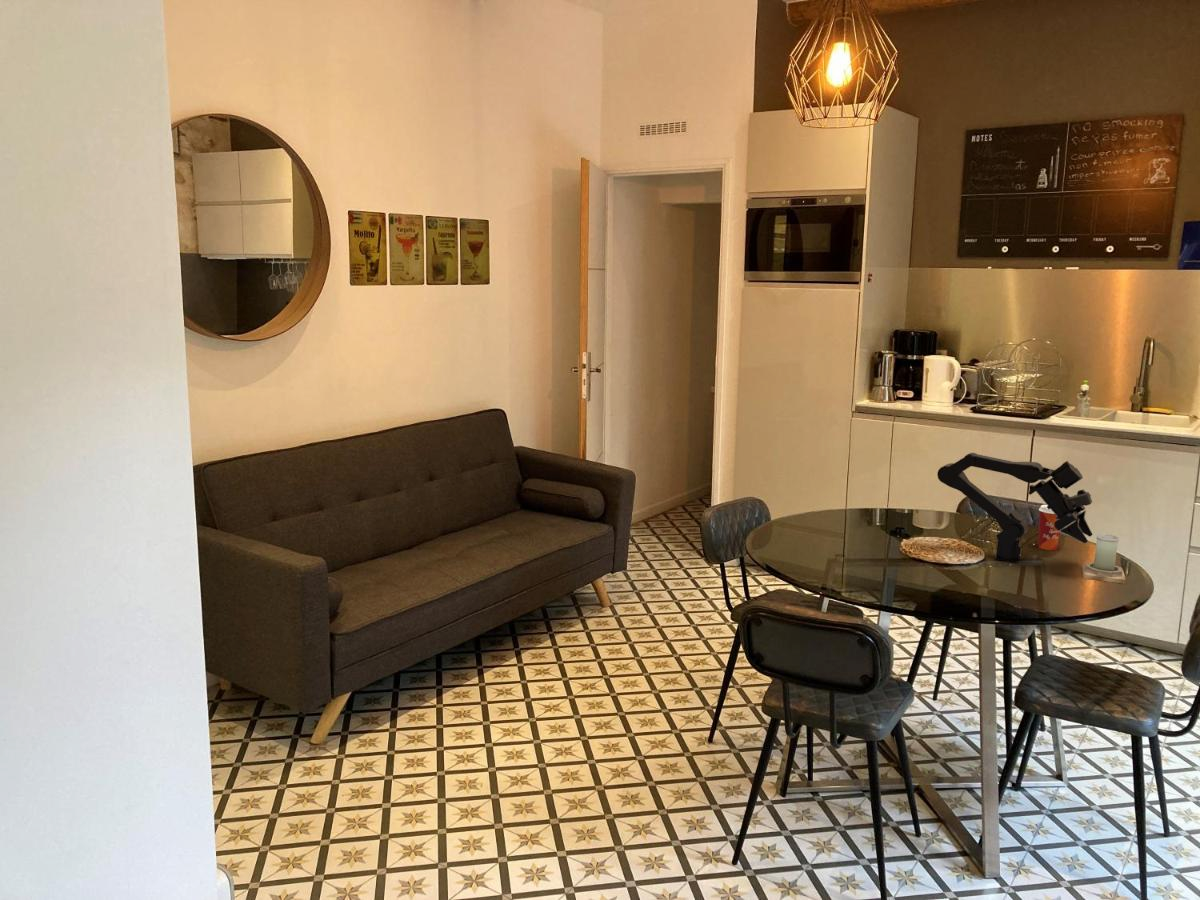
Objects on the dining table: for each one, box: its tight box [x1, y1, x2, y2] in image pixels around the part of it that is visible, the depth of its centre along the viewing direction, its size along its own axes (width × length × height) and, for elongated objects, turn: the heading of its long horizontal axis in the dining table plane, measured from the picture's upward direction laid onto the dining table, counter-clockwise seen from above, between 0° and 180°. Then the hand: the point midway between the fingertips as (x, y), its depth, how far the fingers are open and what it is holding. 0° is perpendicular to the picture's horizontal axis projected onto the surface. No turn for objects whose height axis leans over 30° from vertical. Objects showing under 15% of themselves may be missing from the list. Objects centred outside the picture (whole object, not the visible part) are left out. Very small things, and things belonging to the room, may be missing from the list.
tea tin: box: [1093, 533, 1120, 571], centre depth 283 cm, size 6×6×11 cm
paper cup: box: [1037, 504, 1061, 551], centre depth 311 cm, size 8×8×14 cm
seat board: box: [1081, 561, 1127, 585], centre depth 284 cm, size 11×11×3 cm
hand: (1088, 539), depth 285 cm, fingers open, 9 cm apart
